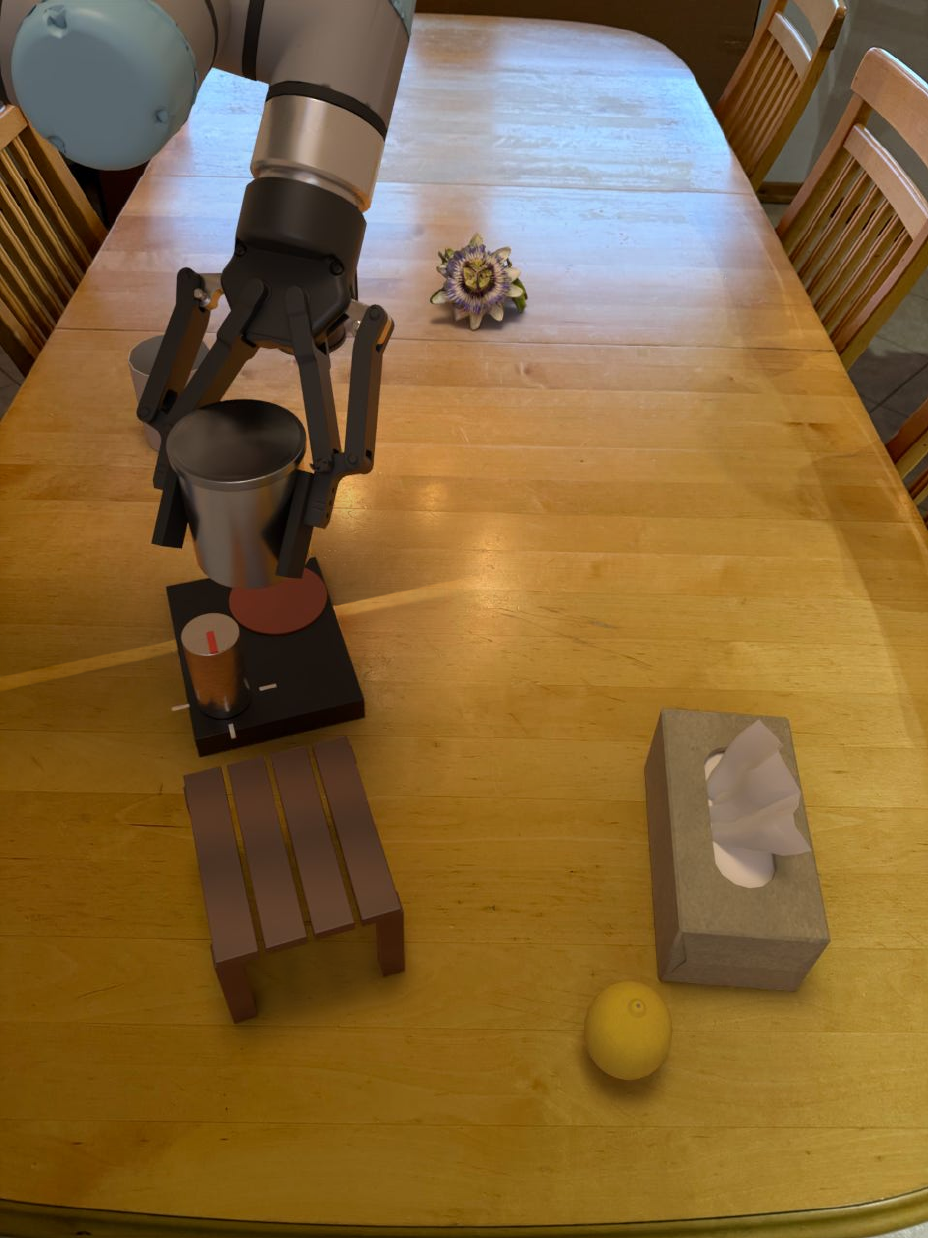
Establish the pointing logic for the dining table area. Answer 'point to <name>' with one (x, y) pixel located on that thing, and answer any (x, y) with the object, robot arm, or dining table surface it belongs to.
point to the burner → (280, 605)
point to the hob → (272, 674)
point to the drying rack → (273, 867)
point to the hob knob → (217, 665)
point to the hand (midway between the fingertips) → (227, 560)
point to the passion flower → (478, 282)
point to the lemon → (628, 1030)
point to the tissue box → (731, 853)
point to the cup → (141, 367)
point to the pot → (238, 486)
